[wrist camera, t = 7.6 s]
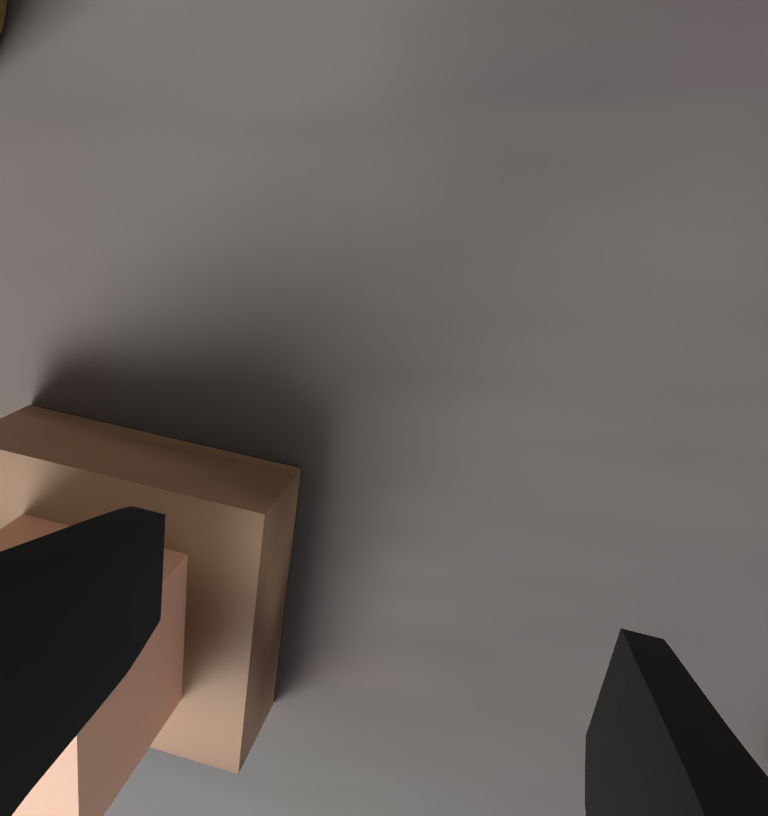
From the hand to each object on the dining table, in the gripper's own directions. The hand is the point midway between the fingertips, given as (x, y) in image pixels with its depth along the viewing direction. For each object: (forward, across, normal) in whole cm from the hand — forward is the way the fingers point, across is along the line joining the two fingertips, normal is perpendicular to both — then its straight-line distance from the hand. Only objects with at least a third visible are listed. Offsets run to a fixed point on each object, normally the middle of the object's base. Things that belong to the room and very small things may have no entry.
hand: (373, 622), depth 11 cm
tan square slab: (+9, +8, +7) cm, 14 cm away
